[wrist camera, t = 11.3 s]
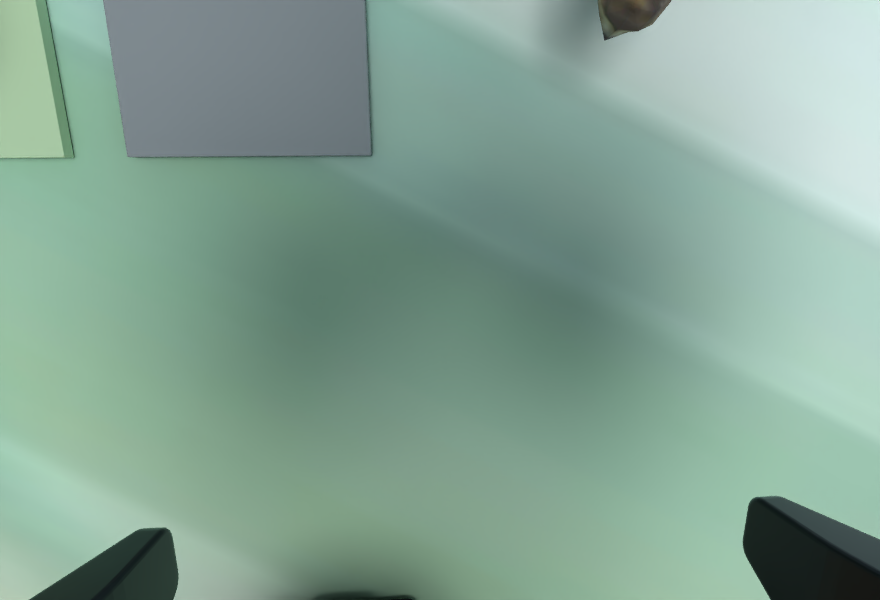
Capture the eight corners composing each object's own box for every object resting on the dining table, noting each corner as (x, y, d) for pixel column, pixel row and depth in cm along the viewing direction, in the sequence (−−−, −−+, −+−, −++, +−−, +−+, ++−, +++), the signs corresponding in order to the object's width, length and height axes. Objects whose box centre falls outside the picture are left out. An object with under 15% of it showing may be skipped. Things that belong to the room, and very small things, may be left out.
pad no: (371, 155, 18) (370, 155, 17) (135, 157, 17) (127, 156, 17) (360, -112, 16) (359, -121, 15) (93, -119, 15) (83, -129, 15)
